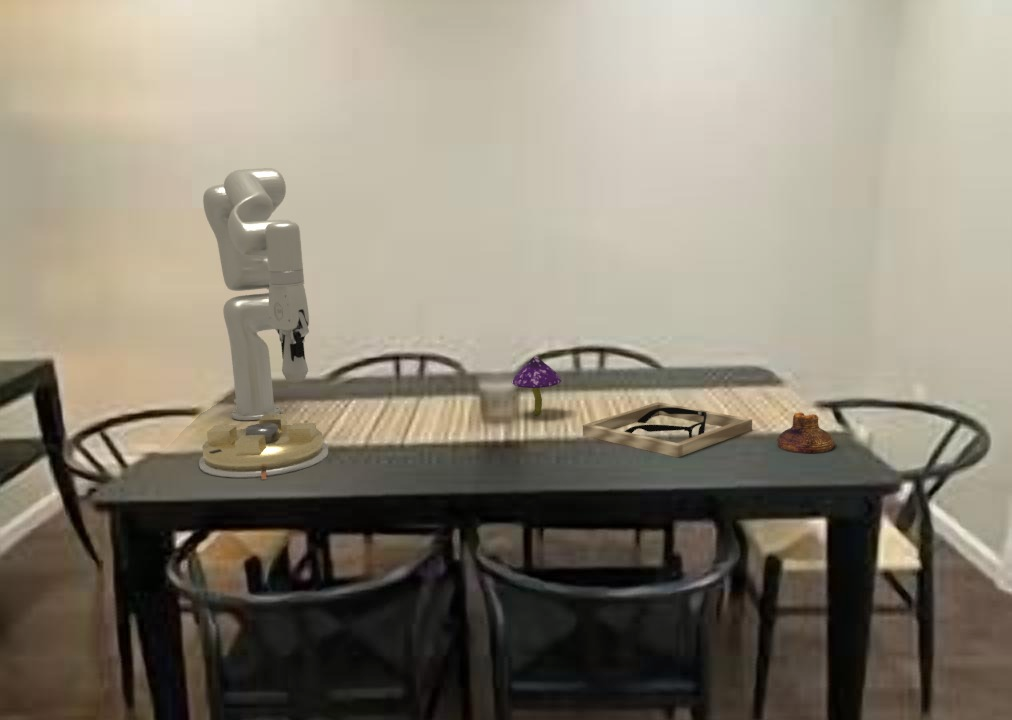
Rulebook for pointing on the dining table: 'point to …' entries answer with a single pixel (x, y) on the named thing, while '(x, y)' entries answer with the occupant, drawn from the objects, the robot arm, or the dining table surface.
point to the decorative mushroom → (536, 379)
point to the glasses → (667, 427)
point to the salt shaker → (293, 369)
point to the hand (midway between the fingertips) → (293, 358)
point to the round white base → (264, 473)
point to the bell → (805, 436)
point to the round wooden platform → (262, 445)
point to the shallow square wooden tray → (607, 433)
